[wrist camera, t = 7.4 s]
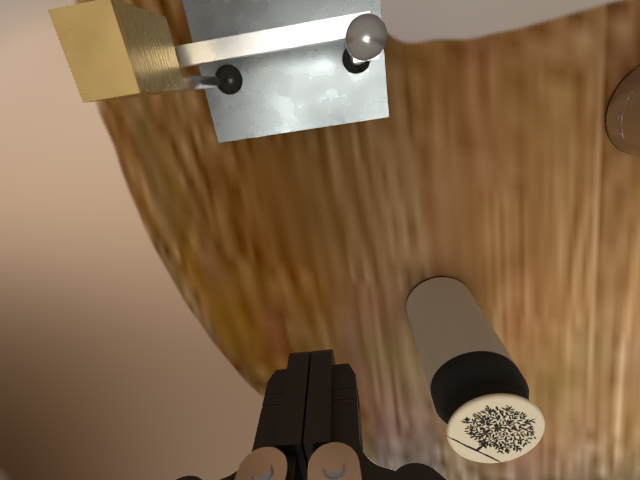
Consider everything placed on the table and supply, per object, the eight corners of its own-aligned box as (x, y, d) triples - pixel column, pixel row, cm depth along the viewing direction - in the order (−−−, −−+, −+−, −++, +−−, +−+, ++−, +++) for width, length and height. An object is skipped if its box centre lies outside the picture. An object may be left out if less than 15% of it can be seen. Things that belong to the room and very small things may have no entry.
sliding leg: (221, 36, 33) (109, -3, 17) (232, 85, 34) (140, 92, 18) (189, 42, 33) (47, 9, 17) (201, 90, 35) (83, 102, 18)
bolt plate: (373, -57, 31) (401, -152, 18) (386, 115, 37) (414, 137, 24) (177, -18, 33) (72, -80, 20) (218, 141, 39) (157, 174, 25)
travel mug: (439, 263, 43) (502, 377, 27) (485, 300, 45) (571, 429, 29) (392, 307, 46) (423, 435, 30) (437, 340, 48) (490, 479, 31)
